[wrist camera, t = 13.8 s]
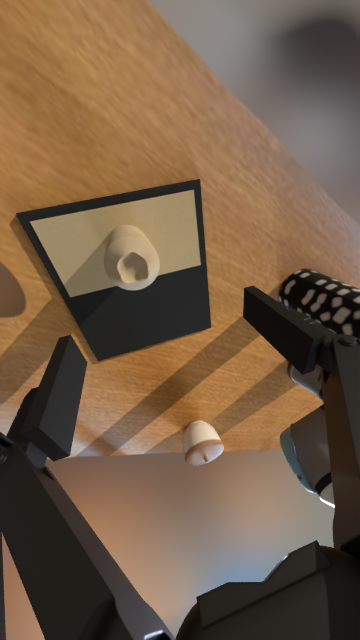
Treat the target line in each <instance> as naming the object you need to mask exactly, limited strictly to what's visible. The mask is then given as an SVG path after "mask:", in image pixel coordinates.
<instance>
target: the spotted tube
mask: <svg viewBox="0 0 360 640" xmlns="http://www.w3.org/2000/svg"><path fill="white" fill-rule="evenodd" d="M279 301H280V303H281V304H282V305H283V306H284V307H286V308H287V309H289V310H290V311H294V310H296V311H299V312H301V313H304V314H306V315H307V316H309V317H310V318H312V319H314V320H315V321H316V322H318V323H320V324H321V325H323V326H324V327H326V328H328V329H329V330H331V331H332V332H334V333H335V334H337V335H338V334H347V335H352V336H354V337H357V338H358V339H360V289H358V288H356V287H353V286H350V285H348V284H345V283H343V282H340V281H338V280H335V279H333V278H330V277H328V276H325V275H323V274H320V273H318V272H315V271H313V270H310V269H301V270H298V271H296V272H295V273H293V274H292V275H291V276H289V277H288V278H287V279H286V281H285V282H284V283H283V285H282V287H281V289H280V292H279Z"/></svg>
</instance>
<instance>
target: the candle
mask: <svg viewBox="0 0 360 640" xmlns="http://www.w3.org/2000/svg"><path fill="white" fill-rule="evenodd" d="M159 267H160V262H159V257H158V254H157V252H156V250H155V249H154V247H153V246H152V244H151V243H150V241H149V240H148V238H147V237H146V235H145V234H144V233H143V232H142V231H141V230H140V229H138V228H137V227H135V226H132V225H121V226H118V227H116V228H115V229H114V230H113V231H112V232H111V233H110V235H109V237H108V240H107V244H106V250H105V255H104V268H105V271H106V274H107V276H108V277H109V279H110V280H111V281H112V282H113V283H114V284H116V285H117V286H119V287H120V288H123V289H126V290H140V289H143V288H145V287H147V286H149V285H150V284H151V283H152V282H153V281H154V280H155V278H156V277H157V275H158V272H159Z"/></svg>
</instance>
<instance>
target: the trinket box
mask: <svg viewBox="0 0 360 640" xmlns="http://www.w3.org/2000/svg"><path fill="white" fill-rule="evenodd" d="M223 449H224V446H223V444H222V442H221V440H220V438H219V435H218V434H217V432H216V430H215V429H214V428H213V427H212V426H211V425H210V424H208V423H205V422H204V421H202V420H198V421H194V422H192V423H190V424H189V425H188V426H187V427H186V431H185V432H184V435H183V451H184V455H185V461H186V463H187V464H188V465H201V464H205V463H208V462H209V461H212V460H213V459H215V458H216V457H218V456H219V455H220V454H221V453H222V451H223Z"/></svg>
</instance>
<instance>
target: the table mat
mask: <svg viewBox="0 0 360 640" xmlns="http://www.w3.org/2000/svg"><path fill="white" fill-rule="evenodd" d="M16 215H17V217H18V219H19V220H20V222H21V224H22V226H23V228H24V229H25V231H26V233H27V235H28V236H29V238H30V240H31V242H32V244H33V245H34V247H35V249H36V251H37V252H38V254H39V256H40V258H41V260H42V261H43V263H44V265H45V267H46V269H47V270H48V272H49V274H50V276H51V277H52V279H53V281H54V283H55V285H56V286H57V288H58V290H59V292H60V293H61V295H62V297H63V299H64V301H65V302H66V304H67V306H68V308H69V310H70V311H71V313H72V315H73V317H74V318H75V320H76V322H77V324H78V326H79V327H80V329H81V331H82V333H83V334H84V336H85V338H86V340H87V342H88V343H89V345H90V347H91V349H92V350H93V352H94V354H95V356H96V358H97V359H98V361H100V360H103V359H107V358H110V357H113V356H117V355H120V354H123V353H127V352H130V351H134V350H137V349H140V348H144V347H147V346H150V345H154V344H157V343H161V342H164V341H167V340H171V339H174V338H177V337H181V336H184V335H188V334H191V333H194V332H198V331H201V330H204V329H208V328H211V319H210V306H209V292H208V279H207V266H206V253H205V239H204V226H203V213H202V200H201V187H200V179H198V180H192V181H187V182H182V183H176V184H171V185H165V186H160V187H155V188H149V189H144V190H139V191H133V192H128V193H123V194H117V195H112V196H107V197H101V198H96V199H91V200H85V201H80V202H75V203H69V204H64V205H58V206H53V207H48V208H42V209H37V210H32V211H26V212H21V213H16ZM121 225H132V226H135V227H137V228H138V229H140V230H141V231H142V232H143V233H144V234H145V235H146V237H147V238H148V240H149V241H150V243H151V244H152V246H153V247H154V249H155V250H156V252H157V254H158V257H159V262H160V267H159V272H158V275H157V277H156V278H155V280H154V281H153V282H152V283H151V284H150V285H149V286H147V287H145V288H143V289H140V290H126V289H123V288H120V287H119V286H117V285H116V284H114V283H113V282H112V281H111V280H110V279H109V277H108V276H107V274H106V271H105V268H104V255H105V250H106V244H107V240H108V237H109V235H110V233H111V232H112V231H113V230H114V229H115V228H116V227H118V226H121Z"/></svg>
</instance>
